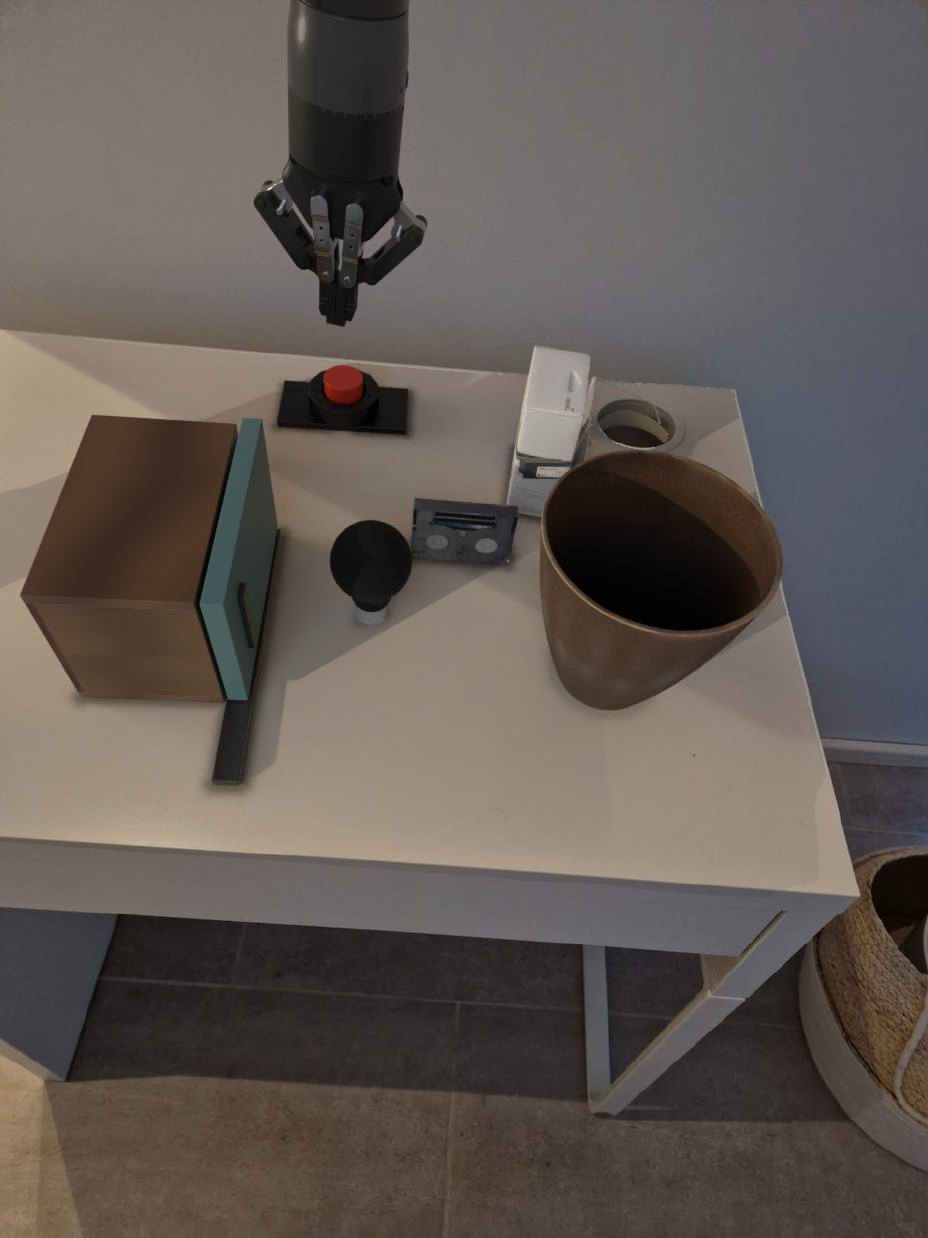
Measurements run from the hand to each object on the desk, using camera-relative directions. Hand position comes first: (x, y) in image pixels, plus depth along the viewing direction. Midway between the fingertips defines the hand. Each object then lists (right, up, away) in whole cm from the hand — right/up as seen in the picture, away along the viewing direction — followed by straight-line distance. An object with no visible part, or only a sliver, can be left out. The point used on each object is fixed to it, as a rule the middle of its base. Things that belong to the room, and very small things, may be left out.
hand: (338, 319), depth 65 cm
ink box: (+17, -12, +8) cm, 22 cm away
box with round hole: (+25, -9, +11) cm, 29 cm away
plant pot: (+21, -29, -3) cm, 36 cm away
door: (-6, -23, -4) cm, 24 cm away
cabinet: (-11, -26, -5) cm, 29 cm away
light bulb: (+3, -25, -2) cm, 25 cm away
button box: (-1, -4, +12) cm, 12 cm away
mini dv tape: (+10, -19, +2) cm, 22 cm away
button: (-1, -3, +10) cm, 10 cm away
